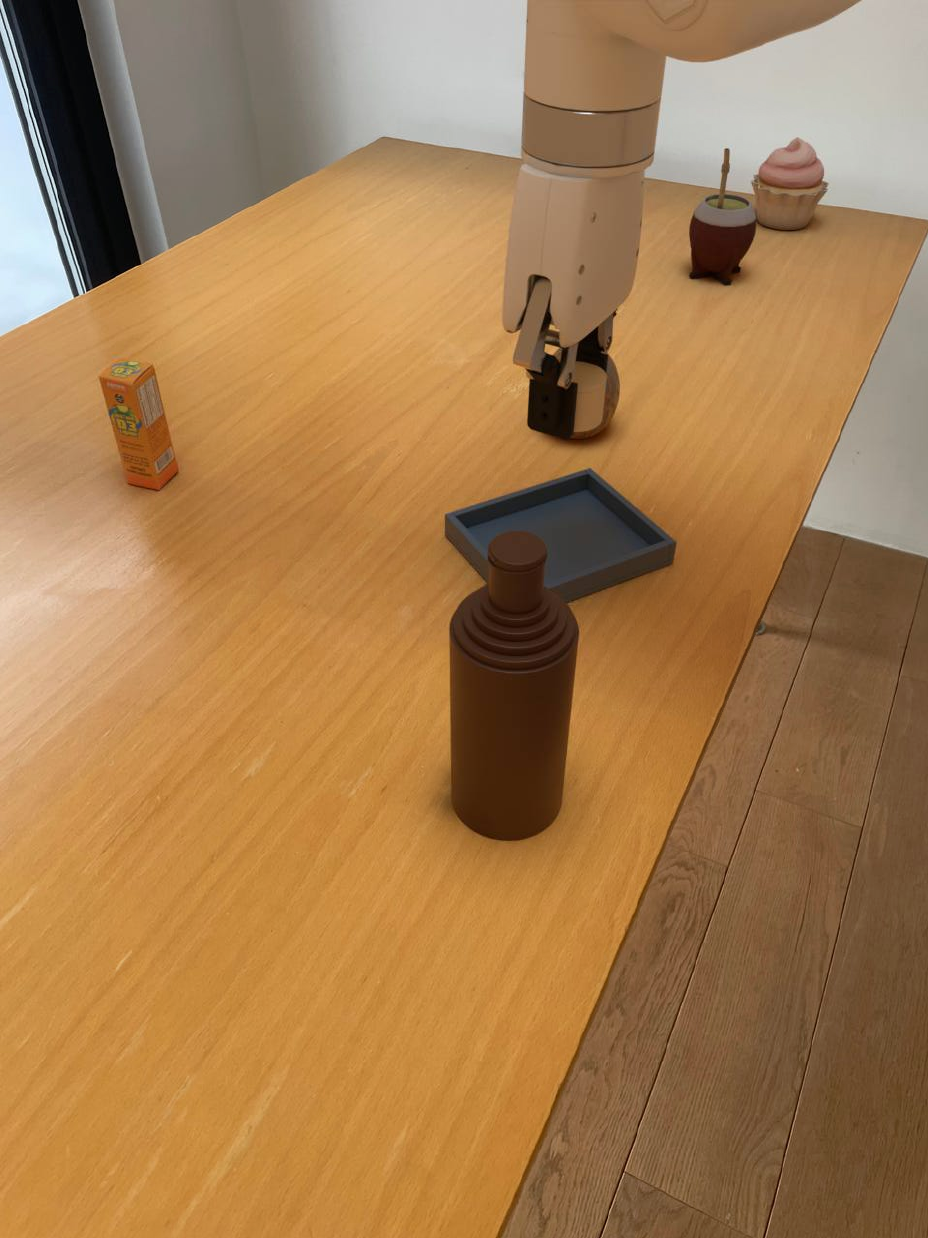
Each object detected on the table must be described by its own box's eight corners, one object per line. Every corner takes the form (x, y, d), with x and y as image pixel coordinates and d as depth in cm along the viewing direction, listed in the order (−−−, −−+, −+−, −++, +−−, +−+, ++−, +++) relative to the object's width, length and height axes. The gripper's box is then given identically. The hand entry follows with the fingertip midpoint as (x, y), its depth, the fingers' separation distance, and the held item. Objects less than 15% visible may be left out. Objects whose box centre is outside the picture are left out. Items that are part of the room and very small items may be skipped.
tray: (588, 488, 82) (590, 467, 81) (673, 563, 75) (677, 541, 73) (444, 535, 77) (444, 513, 76) (520, 620, 70) (521, 598, 68)
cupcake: (728, 215, 128) (742, 130, 121) (787, 204, 131) (805, 121, 124) (774, 240, 121) (792, 153, 115) (836, 228, 124) (857, 142, 118)
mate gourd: (726, 258, 117) (751, 119, 107) (762, 285, 112) (791, 141, 102) (668, 266, 116) (688, 126, 106) (702, 294, 110) (726, 148, 100)
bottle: (522, 738, 62) (536, 492, 50) (584, 810, 57) (615, 561, 46) (431, 779, 59) (423, 532, 47) (488, 858, 55) (496, 609, 43)
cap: (562, 398, 70) (565, 355, 68) (611, 412, 69) (616, 369, 67) (535, 422, 68) (538, 379, 66) (586, 438, 66) (590, 394, 64)
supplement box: (123, 485, 82) (93, 373, 75) (147, 463, 85) (120, 353, 78) (158, 493, 81) (131, 380, 75) (181, 471, 84) (157, 360, 77)
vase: (631, 433, 88) (643, 339, 82) (570, 457, 85) (577, 361, 80) (581, 400, 93) (589, 309, 87) (521, 422, 90) (525, 329, 84)
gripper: (593, 85, 63) (570, 355, 75) (453, 158, 52) (454, 459, 65) (706, 103, 60) (664, 381, 72) (583, 184, 50) (558, 494, 62)
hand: (565, 415), depth 68 cm, fingers closed on cap, 3 cm apart
